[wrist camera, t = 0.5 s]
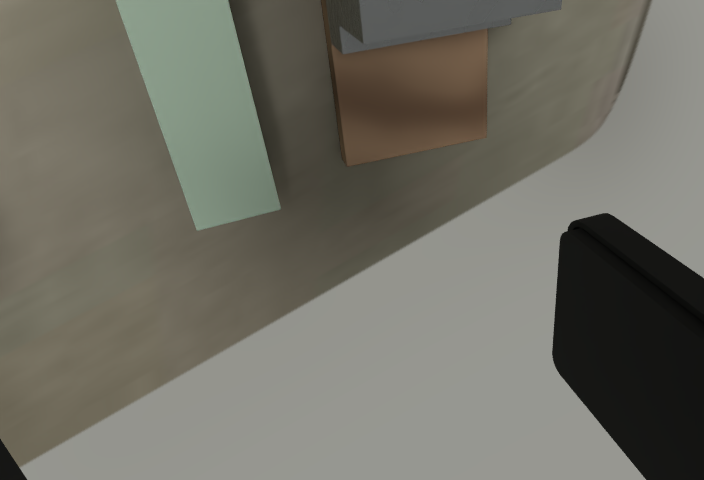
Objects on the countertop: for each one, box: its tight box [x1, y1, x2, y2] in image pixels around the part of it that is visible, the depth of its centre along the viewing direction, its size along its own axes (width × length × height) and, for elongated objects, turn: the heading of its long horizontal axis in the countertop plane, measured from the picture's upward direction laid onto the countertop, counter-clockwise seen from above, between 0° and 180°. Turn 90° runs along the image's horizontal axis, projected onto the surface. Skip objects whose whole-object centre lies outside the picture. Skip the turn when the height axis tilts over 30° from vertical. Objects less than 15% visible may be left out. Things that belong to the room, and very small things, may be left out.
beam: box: [116, 0, 281, 231], centre depth 30 cm, size 22×5×6 cm, turn 10°
